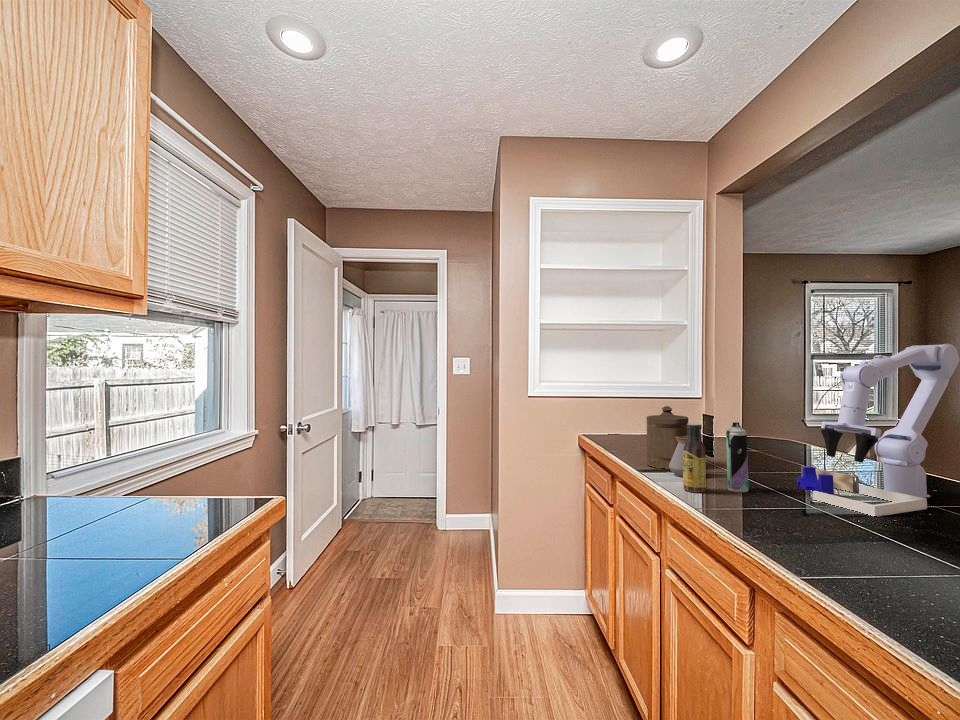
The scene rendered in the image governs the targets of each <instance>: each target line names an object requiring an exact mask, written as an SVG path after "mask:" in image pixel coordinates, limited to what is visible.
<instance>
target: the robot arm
mask: <svg viewBox="0 0 960 720" xmlns="http://www.w3.org/2000/svg"><path fill="white" fill-rule="evenodd" d="M959 363H960V356H959V352H958V349H957V348H956V347H955V345H953V344H951V343H944V344H928V345H927V344H925V345H924V344H923V345H917V344H914V345H911V346H906V347H905V349H903V350H901V351H899V352H898V353H895V354H893V355H890V356H887V355H882V354H879V355H878V354H876V355H874V356H873V358H872V359H870V360H867V361H866V360H865V361H863V360H862V361H860V364H858V365H849V366H846V367H845V368H844V369H843V371H842V372H841V373H840V375H839V376H840V377H839V378H840V382H841V384H842V385H841V389H842V397H841V401H840V408H839V413H838V417H837V418H838V419H837V422H835V421H834V422H833V421H832V422H831V421H822V422H821V427H820V428H821V430H820V433H821V434H822V437H823V441H824V444H825V449H826V451H825V452H826V456H828V457H831V458H835V456H836V454H837V449H838V445H839V442H840V440H841V438H842V436H843V434H844V432H845V433H850V434H851V433H852V434H854V435H855V436H854V437H855V452H854V462H857V463H862V464H863V463H864V461H865V458H866V457H867V455H868V454H869V452H870V451H871V449H872V448H873V447H874V453H875V455H876V456H877V457H878V458H879V461H880V463H881V462H882V474H883V490H887V491H892V492H897V493H902V494H906V495H911V496H916V497H921V498H925V499H927V498H930V497H931V495H930V494H928V492H927V491H928V490H927V472H926V471H925V469H924V467H923V466H922V465H921V463H922V462H924V461H925V457H926V452H927V451H926V450H927V447H928V446H929V443H928V441H927V439H925V437H924V436H923V435H922V434H923V432H924V430H925V428H926V426H927V425H928V422H929V420H930V419H931V416H932V415H933V414H934V411H935V409H936V408H937V405H938V404H939V402H940V400H941V398H942V397H943V394H944V392H945V390H946V388H947V387H948V385H949V383H950V379H951V377H952V376H953V375H954V372H955V371H956V368H957V366H958V365H959ZM907 365H908V366H910V369H911V370H912V373H913V374H914V375H915V377H916V378H918V379H920V382H919V385H918V387H917V388H916V391H914V394H913V396H912V398H911V400H910V402H909V403H908V405H907V406H906V409H905V411H903V412H904V413H903V414H902V415H901V418H900V420H899V421H898V424H897V425H896V426H894V427H892V428H890V429H887V430H885V431H884V433H883V434H882V429H880V428H876V427H869V426H865V422H866V418H867V412H868V411H867V410H868V405H869V399H870V395H871V389H872V387H876V386H877V385H878V383H879V381H881V380H883V379H886V378H888V377H890V376H893V375H895V374H896V372H897V370H898V368H899V369H900V368H902V367H905V366H907Z"/></svg>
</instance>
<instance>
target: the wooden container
mask: <svg viewBox="0 0 960 720" xmlns="http://www.w3.org/2000/svg"><path fill="white" fill-rule="evenodd" d="M661 411H662V413H660V414H655V415H647V416H646V462H647V463H646V464H647V466H648V465H649V466H648V467H650V466H652V467H651V468H653V467H656V468H655V469H658V468H665V469H664V470H669V469H670V468H669V464H670V461H671V459H672V457H673V454H674V452H675V449H676V447H677V445H678V441H677V440H676V438H675V437H677V436H687V424H688V423H689V417H688V416H685V415H675V414H674V413H673V412H672V411H673V408H672V407H670V406H669V405H668V406H665V405H664V406H663V407H662V410H661Z"/></svg>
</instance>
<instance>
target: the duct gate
mask: <svg viewBox="0 0 960 720" xmlns="http://www.w3.org/2000/svg"><path fill="white" fill-rule="evenodd" d="M802 467H805V465H804V466H801V469H800V470H801V471H800V473H801V474H802ZM819 474H830V475H833V487H834V489H836V488H837V490H840V489H841V491H845V490H846V491H845V492H849V491H850V493H855V489H854V476H855V475H849V474H844V473H839V472H834V471H829V470H825V469H818V468H816V475H817V479H818V478H819Z"/></svg>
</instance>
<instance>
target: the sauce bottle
mask: <svg viewBox="0 0 960 720" xmlns="http://www.w3.org/2000/svg"><path fill="white" fill-rule="evenodd" d="M706 460H707V456H706V446H705V445H704V442H703V441H702V423H698V422H697V423H696V422H688V424H687V440H686V443H685V446H684V449H683V477H682V483H683V489H684V490H685V491H686V492H689V493H704V492H706V490H707V489H706V486H707V478H706V477H707V475H706V474H707V471H706V470H707V469H706V468H707V462H706Z"/></svg>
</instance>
